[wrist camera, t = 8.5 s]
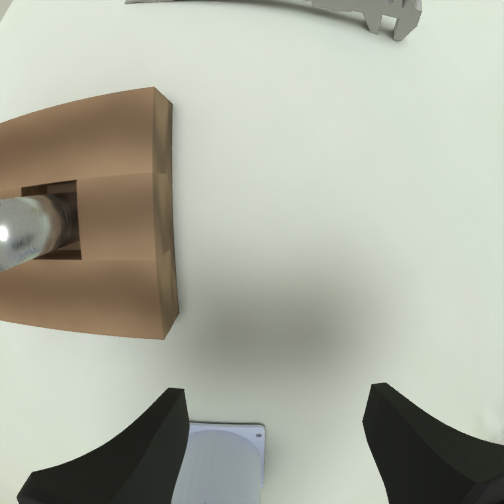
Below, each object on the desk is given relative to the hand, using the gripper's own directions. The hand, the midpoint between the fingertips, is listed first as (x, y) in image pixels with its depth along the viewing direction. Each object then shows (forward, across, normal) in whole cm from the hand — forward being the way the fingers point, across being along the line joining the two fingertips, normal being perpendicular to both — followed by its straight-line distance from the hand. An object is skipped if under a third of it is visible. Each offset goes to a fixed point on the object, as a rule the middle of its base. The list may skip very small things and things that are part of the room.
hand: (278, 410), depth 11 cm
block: (+10, +13, -6) cm, 18 cm away
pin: (+9, +13, -6) cm, 17 cm away
